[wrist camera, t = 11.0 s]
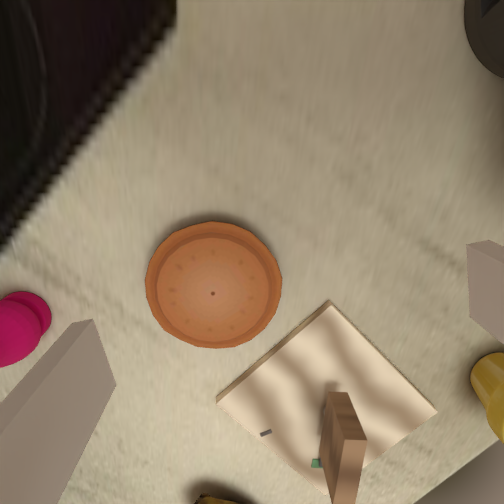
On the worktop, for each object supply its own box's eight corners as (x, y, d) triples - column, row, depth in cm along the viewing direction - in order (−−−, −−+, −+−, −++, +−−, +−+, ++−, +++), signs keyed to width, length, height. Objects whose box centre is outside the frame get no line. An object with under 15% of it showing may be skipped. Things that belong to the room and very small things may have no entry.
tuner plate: (328, 300, 50) (331, 305, 48) (432, 404, 55) (438, 413, 53) (216, 396, 54) (215, 405, 52) (323, 486, 59) (325, 497, 57)
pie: (156, 207, 46) (146, 215, 41) (288, 224, 47) (293, 235, 42) (147, 327, 51) (137, 347, 46) (268, 340, 52) (271, 362, 47)
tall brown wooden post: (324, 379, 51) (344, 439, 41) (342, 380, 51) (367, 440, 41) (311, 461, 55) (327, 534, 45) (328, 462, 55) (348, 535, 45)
